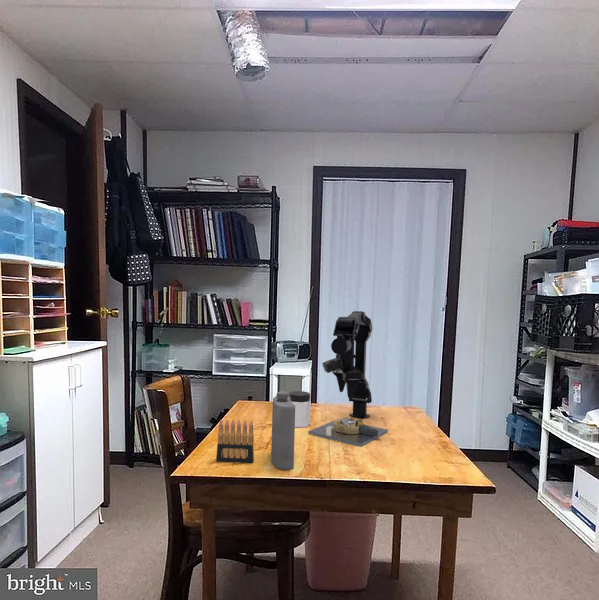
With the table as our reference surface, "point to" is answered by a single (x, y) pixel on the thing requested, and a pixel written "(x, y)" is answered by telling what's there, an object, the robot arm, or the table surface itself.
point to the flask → (283, 431)
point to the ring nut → (356, 428)
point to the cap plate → (353, 439)
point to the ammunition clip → (236, 450)
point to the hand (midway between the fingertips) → (345, 394)
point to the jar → (301, 407)
